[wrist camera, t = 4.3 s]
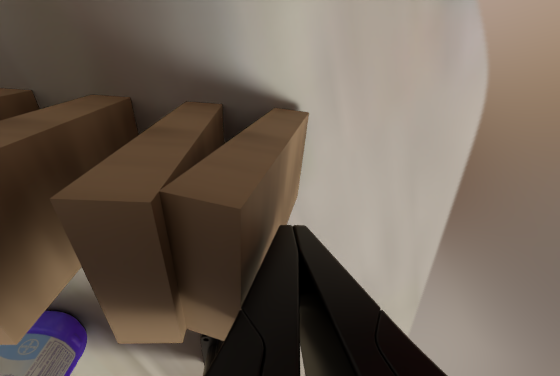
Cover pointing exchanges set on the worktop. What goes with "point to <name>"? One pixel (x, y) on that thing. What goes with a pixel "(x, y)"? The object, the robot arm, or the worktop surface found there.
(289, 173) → the domino
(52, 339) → the bottle
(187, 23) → the worktop surface
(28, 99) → the domino
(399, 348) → the robot arm
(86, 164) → the domino
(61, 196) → the domino
